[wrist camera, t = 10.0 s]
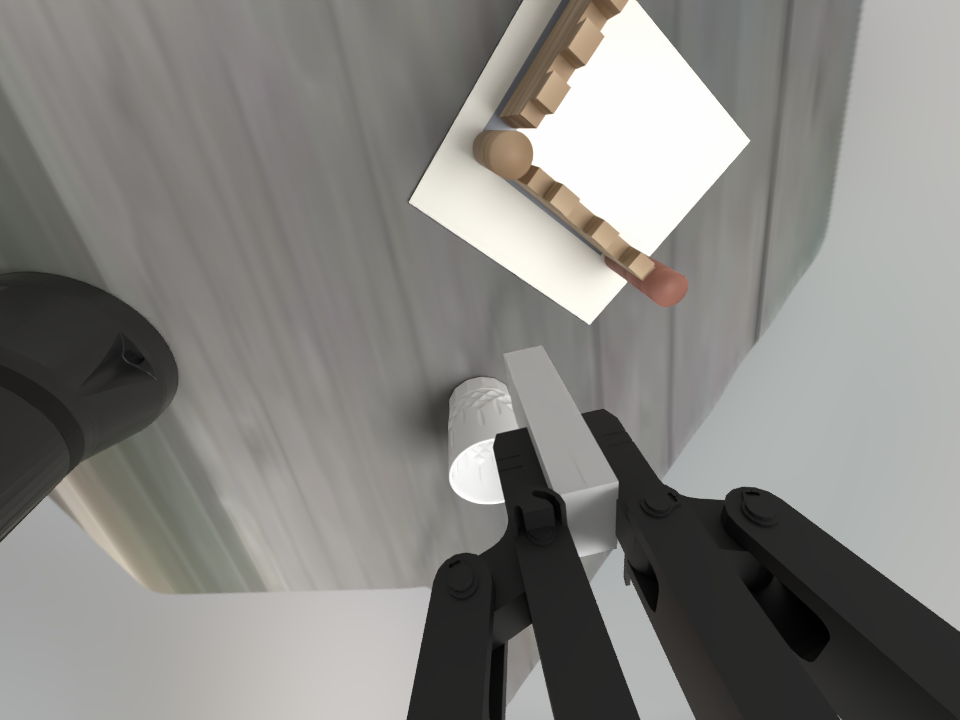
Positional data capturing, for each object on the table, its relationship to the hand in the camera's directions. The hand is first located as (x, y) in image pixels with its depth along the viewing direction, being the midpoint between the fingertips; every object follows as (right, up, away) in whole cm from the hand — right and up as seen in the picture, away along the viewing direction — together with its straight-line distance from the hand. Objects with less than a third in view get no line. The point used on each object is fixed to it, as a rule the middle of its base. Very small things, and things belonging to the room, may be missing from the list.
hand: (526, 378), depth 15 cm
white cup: (-2, -4, +26) cm, 26 cm away
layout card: (+6, +16, +15) cm, 23 cm away
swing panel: (+6, +12, +16) cm, 21 cm away
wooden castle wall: (+2, +21, +12) cm, 24 cm away
